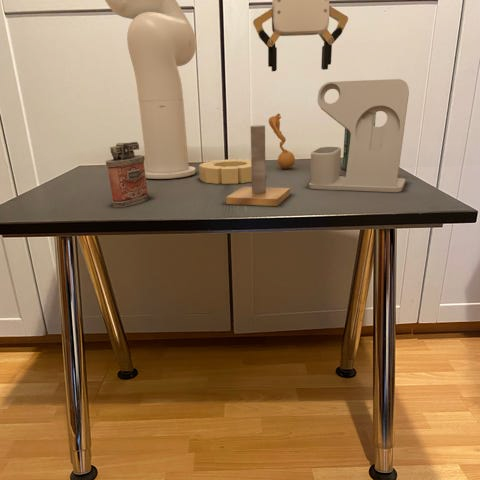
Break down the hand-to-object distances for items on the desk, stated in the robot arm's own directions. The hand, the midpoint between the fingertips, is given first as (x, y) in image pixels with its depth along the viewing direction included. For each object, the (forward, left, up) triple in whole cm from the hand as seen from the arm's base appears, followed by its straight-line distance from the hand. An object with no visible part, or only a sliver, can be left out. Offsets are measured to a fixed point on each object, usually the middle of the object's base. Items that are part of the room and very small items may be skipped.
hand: (299, 70), depth 91 cm
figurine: (-6, +12, -20) cm, 25 cm away
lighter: (-24, -26, -20) cm, 41 cm away
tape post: (-2, -20, -20) cm, 28 cm away
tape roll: (-14, -1, -20) cm, 25 cm away
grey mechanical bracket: (+13, -5, -20) cm, 24 cm away
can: (+11, +14, -20) cm, 27 cm away
